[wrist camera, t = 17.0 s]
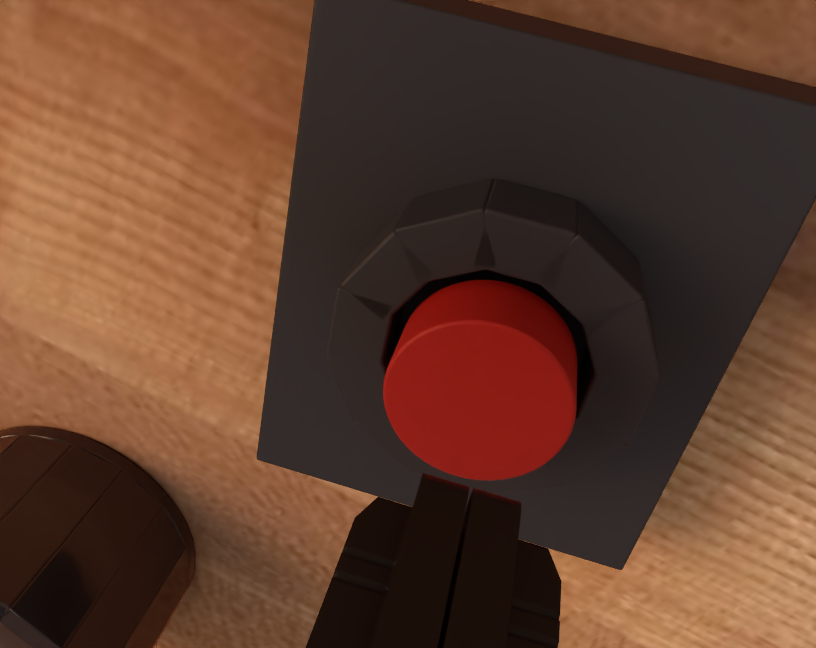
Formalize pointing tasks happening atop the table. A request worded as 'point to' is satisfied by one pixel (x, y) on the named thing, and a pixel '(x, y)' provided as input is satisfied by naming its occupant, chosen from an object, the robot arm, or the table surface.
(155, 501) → the holder
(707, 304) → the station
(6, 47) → the table surface
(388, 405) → the button
